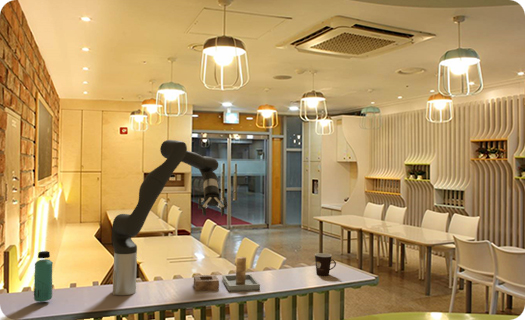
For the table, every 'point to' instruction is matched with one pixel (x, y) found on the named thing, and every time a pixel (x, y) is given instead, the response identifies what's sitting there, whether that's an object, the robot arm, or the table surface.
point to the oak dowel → (240, 270)
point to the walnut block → (206, 282)
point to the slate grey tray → (232, 286)
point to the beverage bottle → (43, 278)
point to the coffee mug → (323, 264)
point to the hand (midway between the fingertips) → (213, 214)
